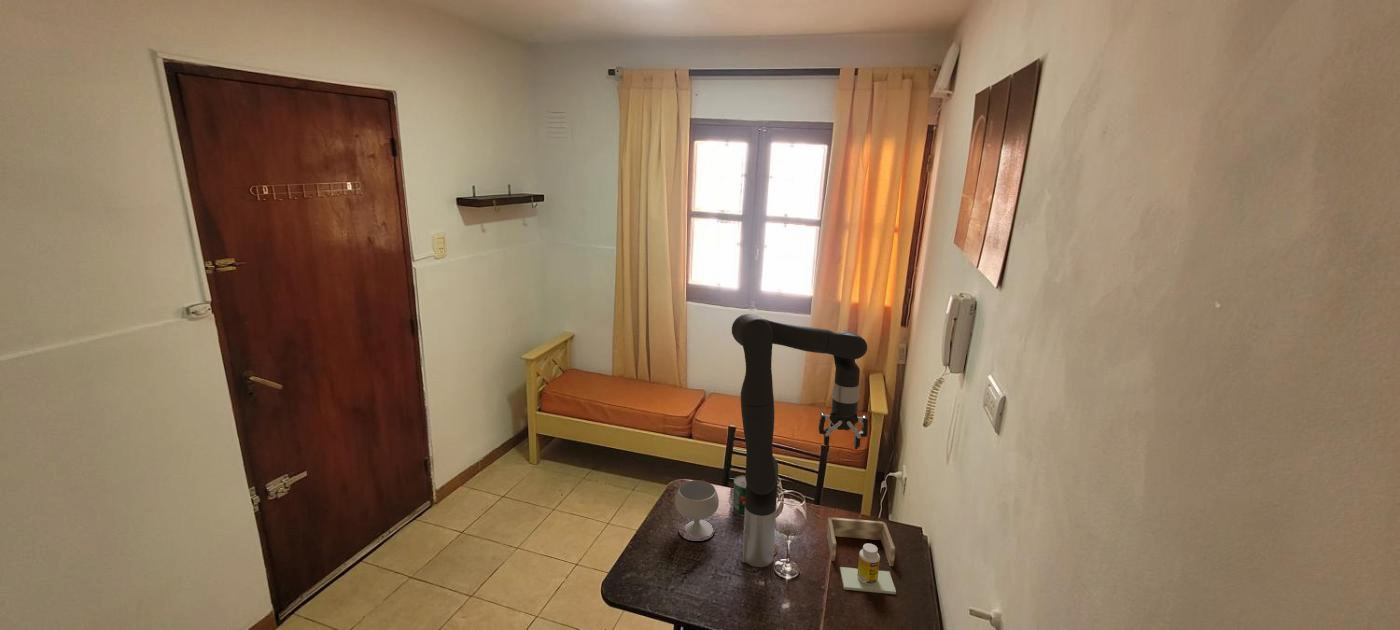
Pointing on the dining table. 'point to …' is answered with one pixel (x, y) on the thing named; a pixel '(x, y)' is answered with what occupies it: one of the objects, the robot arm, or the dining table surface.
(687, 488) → the chalice
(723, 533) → the dining table surface
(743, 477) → the canned tomato
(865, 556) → the supplement bottle
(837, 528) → the cubby
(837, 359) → the robot arm
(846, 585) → the mat
